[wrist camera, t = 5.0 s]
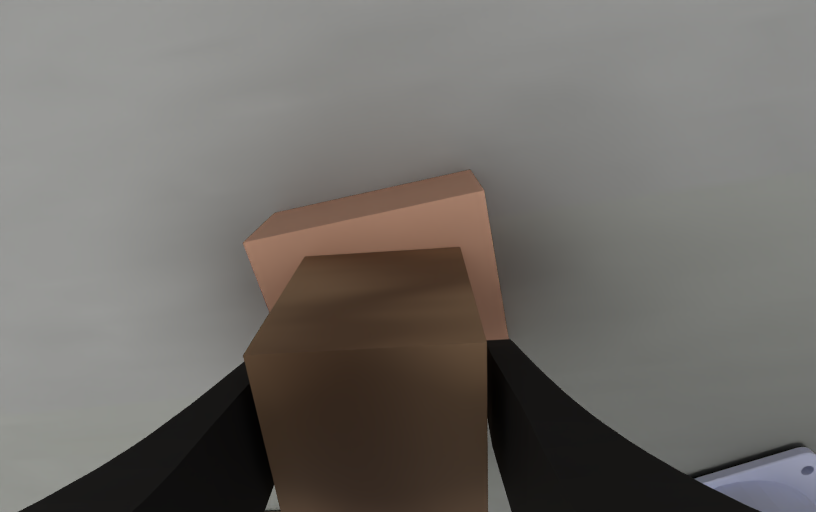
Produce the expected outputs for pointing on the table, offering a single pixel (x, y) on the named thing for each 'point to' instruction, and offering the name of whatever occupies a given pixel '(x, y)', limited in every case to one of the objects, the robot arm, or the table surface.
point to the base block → (387, 236)
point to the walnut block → (374, 385)
